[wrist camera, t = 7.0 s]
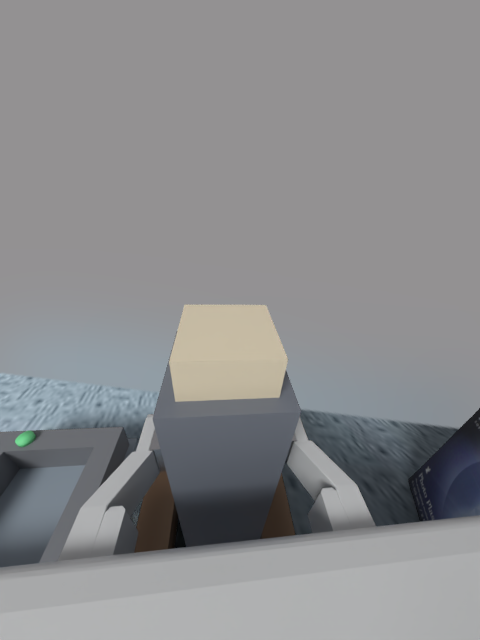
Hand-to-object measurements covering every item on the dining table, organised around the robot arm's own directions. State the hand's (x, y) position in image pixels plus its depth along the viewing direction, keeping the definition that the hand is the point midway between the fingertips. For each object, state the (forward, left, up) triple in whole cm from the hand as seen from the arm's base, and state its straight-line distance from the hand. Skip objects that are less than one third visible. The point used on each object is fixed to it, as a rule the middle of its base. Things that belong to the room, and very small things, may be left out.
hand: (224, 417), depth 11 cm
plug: (0, +1, -8) cm, 8 cm away
